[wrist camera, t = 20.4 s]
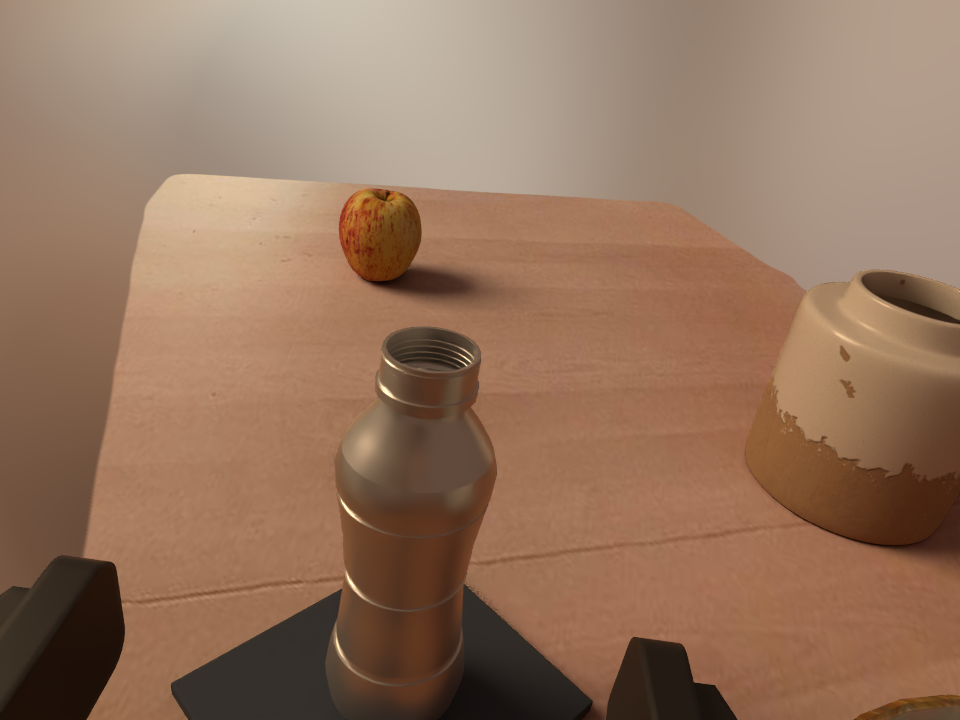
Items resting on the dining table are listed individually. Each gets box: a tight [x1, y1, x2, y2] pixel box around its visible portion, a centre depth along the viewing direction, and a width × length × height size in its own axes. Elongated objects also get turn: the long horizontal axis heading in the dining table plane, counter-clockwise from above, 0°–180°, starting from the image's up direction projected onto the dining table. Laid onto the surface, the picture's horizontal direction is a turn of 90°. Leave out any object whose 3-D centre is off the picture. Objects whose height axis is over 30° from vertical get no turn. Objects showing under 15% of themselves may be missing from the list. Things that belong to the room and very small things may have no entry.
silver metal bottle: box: [325, 327, 497, 720], centre depth 32 cm, size 6×7×20 cm
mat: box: [171, 585, 593, 720], centre depth 37 cm, size 16×14×1 cm
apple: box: [339, 189, 421, 281], centre depth 81 cm, size 9×9×10 cm
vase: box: [745, 270, 960, 545], centre depth 56 cm, size 15×15×17 cm
